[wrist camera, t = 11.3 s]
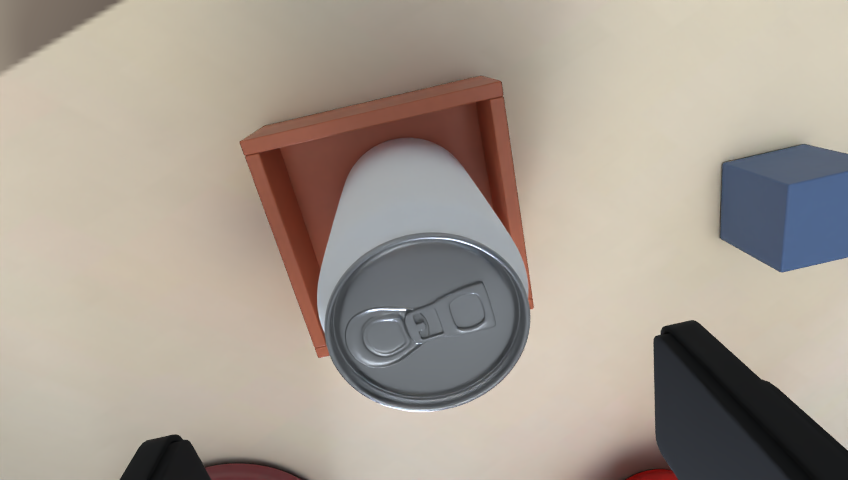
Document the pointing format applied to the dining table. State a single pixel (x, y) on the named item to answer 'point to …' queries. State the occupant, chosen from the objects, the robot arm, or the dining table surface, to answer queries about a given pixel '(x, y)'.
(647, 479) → the ceramic cup
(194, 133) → the dining table surface
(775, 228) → the block
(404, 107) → the terracotta bin
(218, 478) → the kitchen canister
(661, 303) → the dining table surface
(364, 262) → the can
